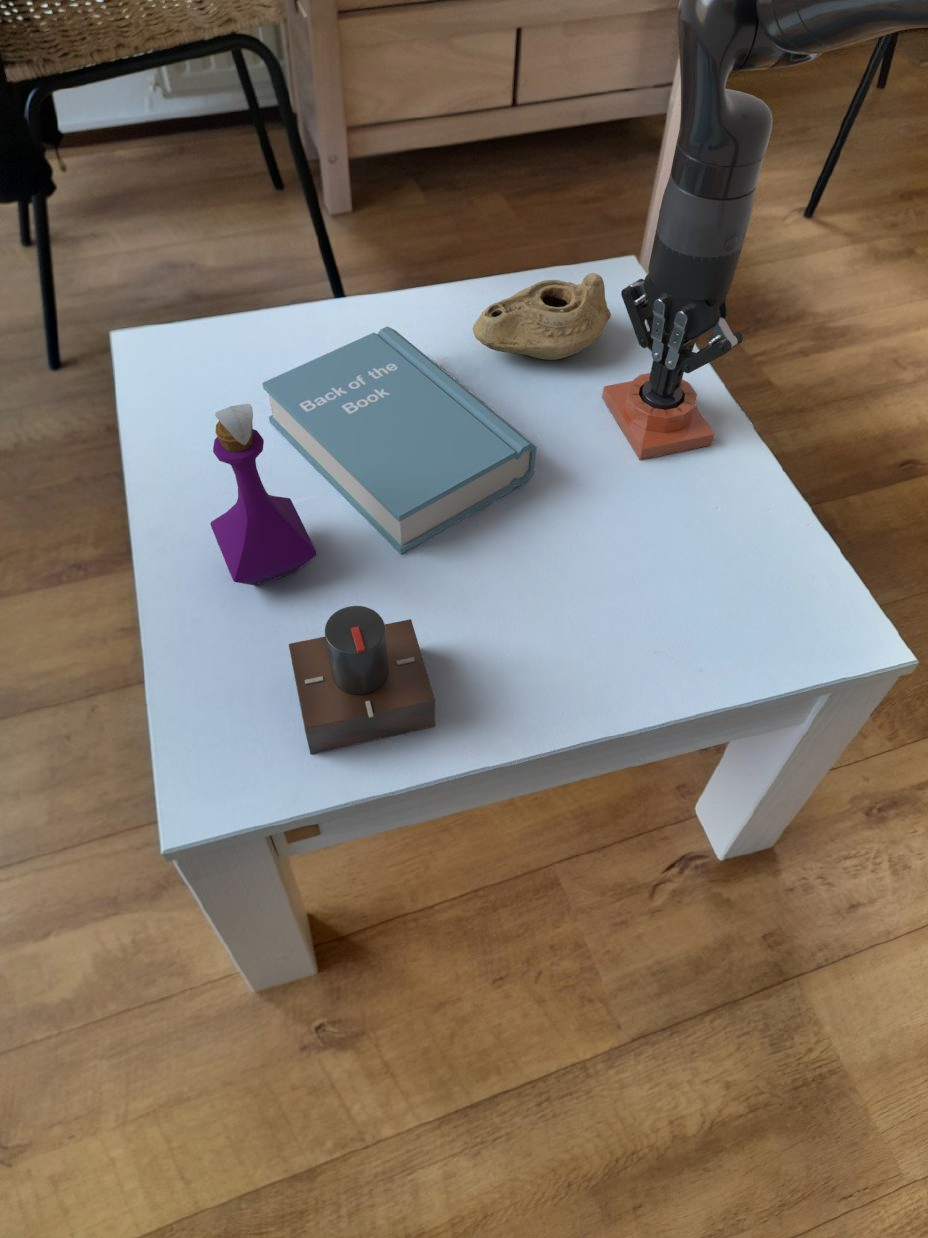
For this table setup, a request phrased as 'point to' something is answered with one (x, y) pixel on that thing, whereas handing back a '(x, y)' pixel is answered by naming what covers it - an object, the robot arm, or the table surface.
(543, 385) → the table surface
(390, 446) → the book
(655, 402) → the dark grey knob
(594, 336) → the oil lamp
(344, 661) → the dial
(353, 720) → the dial panel
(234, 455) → the perfume bottle
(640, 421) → the button base
